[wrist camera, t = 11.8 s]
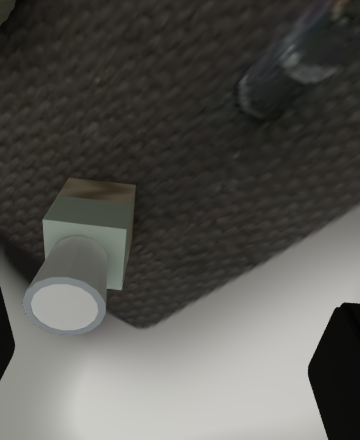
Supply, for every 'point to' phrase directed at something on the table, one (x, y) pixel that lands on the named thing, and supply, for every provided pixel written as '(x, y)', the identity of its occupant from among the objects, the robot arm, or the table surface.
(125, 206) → the tower top
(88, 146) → the table surface
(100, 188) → the tower base
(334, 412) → the robot arm
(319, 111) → the table surface
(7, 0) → the canister
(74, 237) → the shot glass
